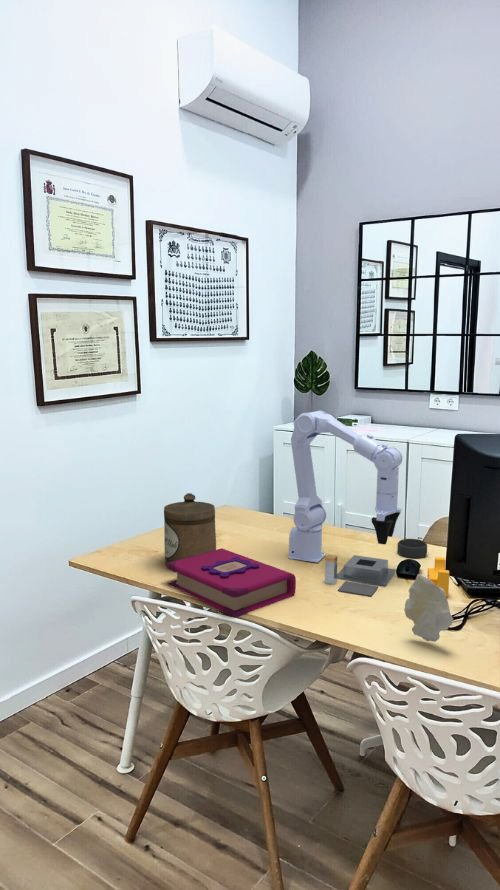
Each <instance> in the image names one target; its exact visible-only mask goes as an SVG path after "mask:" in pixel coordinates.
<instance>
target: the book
mask: <svg viewBox="0 0 500 890" xmlns="http://www.w3.org/2000/svg"><path fill="white" fill-rule="evenodd" d="M167 570H169V571H170V572H171V571H172V572H174V573H176V574H177V576H176V577H177V578H176V579H175V580H174V579H173V580H172V581H168V582H167V584H168V585H169V586H170V587H172V588H174V589H178V590H179V591H182V592H184V593H186V594H187V595H190V596H191V597H194V598H196V599H197V600H199V601H202V602H204V603H205V604H207V605H209V606H211V607H212V608H213V607H214V608H215V609H217V610H219V611H221V612H223V613H224V614H226V615H228V616H230V617H234V618H238V617H241V616H245V615H246V614H248V613H252V612H254V611H256V610H259V609H262V608H264V607H267V606H271V605H273V604H276V603H278V602H280V601H284V600H287V599H289V598H292V597H294V596H295V595H296V590H297V589H296V587H297V586H296V584H297V583H296V582H297V579H296V575H295V574H294V573H291V572H290V571H286V570H283V569H280V568H278V567H275V566H272V565H269V564H266V563H264V562H261V561H258V560H256V559H252V558H250V557H248V556H244V555H242V554H239V553H236V552H233V551H230V550H227V549H225V548H221V547H220V548H218V549H217V548H216V550H214V551H210V552H206V553H203V554H199V555H195V556H192V557H188V558H184V559H181V560H177V561H176V560H175V561H171V562H169V563H168V568H167Z"/></svg>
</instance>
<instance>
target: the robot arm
mask: <svg viewBox="0 0 500 890" xmlns="http://www.w3.org/2000/svg"><path fill="white" fill-rule="evenodd" d="M323 433H324V434H326V433H329V434H331V435H333V436H336V438H339V439H341V440H342V441H344V442H346V443H348V444H350V445H352V447H353V451H354V452H355V453H356V454H359V455H360V456H362V457H363V458H365V459H367V460H369V461H370V462H372V463H373V464H374V467H375V468H376V471H377V474H376V477H377V478H376V498H375V500H376V501H375V503H376V504H375V508H374V509H375V510H374V511H375V513H376V517H372V518H371V523H372V526H373V528H374V531H375V534H376V535H375V536H376V540H377V544H380V545H386V544H387V543H388V539H389V537H390V538H392V537H393V535H394V531H395V528H396V523H397V520H398V518H399V517H400V515H401V512H402V508H399V507H398V496H399V495H398V493H399V490H398V489H399V468H400V467H399V466H401V464H402V461H403V454H402V453H401V451H400V450H399V449H398V448H397V447H394V446H390V447H389V446H388V444H387V443H382V442H380V441H378V440H377V439H375V438H374V435H372V434H371V433H368V434H366V433H362V434H359V433H357V432H355V431H354V430H353V429H351V428H350V427H348V426H347V425H345V424H344V423H342V422H340V421H339V420H338V419H336V418H335V417H334V416H333V415H332V414H329V413H327V412H326V411H324V410H321V409H320V410H316V411H310V412H303V413H301V414H299V415H298V416H297V418H296V419H295V420H294V421H293V431H292V434H291V437H290V438H291V439H290V444H291V450H292V452H291V453H292V460H293V466H294V473H295V480H296V488H297V494H298V495H297V496H298V499H297V501H296V503H295V505H294V514H293V523H294V526H292V527H291V529H290V531H289V537H288V556H287V558H288V559H290V560H298V561H306V562H310V563H319V562H320V561H322V559H323V558H325V557H326V556H327V553H325V552H323V550H322V547H323V544H322V543H323V541H322V540H323V523H325V521H326V519H327V511H326V510H325V508H324V506H323V501H322V499H321V498H320V497H319V495H318V494H317V487H316V481H315V480H316V479H315V473H314V465H313V464H314V463H313V457H312V451H311V450H312V449H311V443H312V442H313V441H314V440H315V438H316V437H317V436H318V435H320V434H323Z"/></svg>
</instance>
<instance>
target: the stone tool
mask: <svg viewBox="0 0 500 890" xmlns="http://www.w3.org/2000/svg"><path fill="white" fill-rule="evenodd" d="M408 593H409V595H408V597H409V598H406V601H405V603H404V609H403V610H404V615H405V617H406V618H407V619H409V620H411V621H412V622H413V623H414V624H413V627H411V631H412V633H413V635H416V636H417V637H420V638H421V639H423V640H424V641H427V642H429V641H431V642H434V643H435V642H437V641H438V640H439V639H440V636H441V635H440V632H441V631H444V632H445V631H447V630H448V629H449V627H451V626H452V625H453V621H454V617H453V616H452V614H451V612H450V611H451V610H450V609H451V608H450V606H449V601H448V600H447V599H448V598H447V597H446V594H445V591H444V589H442V588H440V587H438V586H436V585H435V584H434V583H433V582H432V581H431V580H430V579H428V578H427V577H425V576H423V575H422V574H421V573H418V574H417V575H416V577H415V579H414V581H413V583H412V584H411V585H410V587H409V589H408Z"/></svg>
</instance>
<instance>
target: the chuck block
mask: <svg viewBox="0 0 500 890" xmlns="http://www.w3.org/2000/svg"><path fill="white" fill-rule="evenodd" d="M396 572H397V570H396V569H395V568H390V567H389V559H383V558H378V557H377V558H376V557H369V556H362V555H357V554H353V555H352V556H351V557H350V559H348V561H346V562H345V564H344V565H343V568H342V569H340V571H339V572H337V580H343V581H348V582H354V583H360V584H367V585H373V586H378V587H386V586H387V584H388V583H389V582H390V580H391V579H392V577H394V575H395V573H396Z"/></svg>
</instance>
